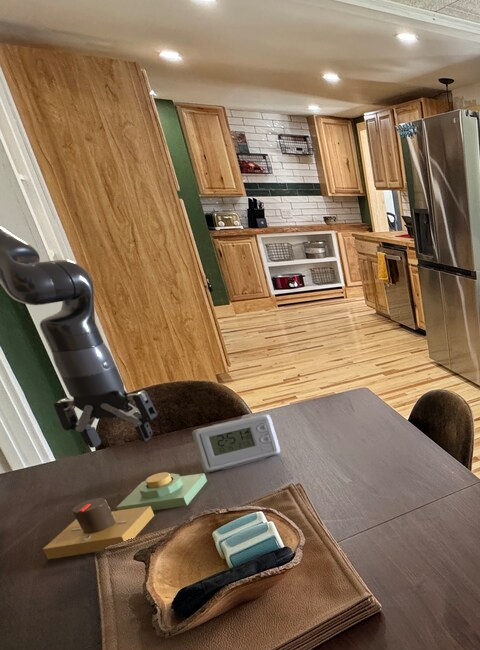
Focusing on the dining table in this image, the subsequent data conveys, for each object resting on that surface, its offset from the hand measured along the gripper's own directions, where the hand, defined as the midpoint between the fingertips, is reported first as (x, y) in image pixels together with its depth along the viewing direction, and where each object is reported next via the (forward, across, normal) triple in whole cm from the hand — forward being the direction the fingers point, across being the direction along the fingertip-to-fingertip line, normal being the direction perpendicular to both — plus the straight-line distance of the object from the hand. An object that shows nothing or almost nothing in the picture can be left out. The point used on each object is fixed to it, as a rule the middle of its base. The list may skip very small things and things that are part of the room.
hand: (121, 442), depth 97 cm
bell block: (+16, -1, -4) cm, 17 cm away
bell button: (+13, -1, -4) cm, 13 cm away
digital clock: (+17, -12, -17) cm, 27 cm away
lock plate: (+16, +4, +8) cm, 19 cm away
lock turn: (+14, +4, +8) cm, 17 cm away
